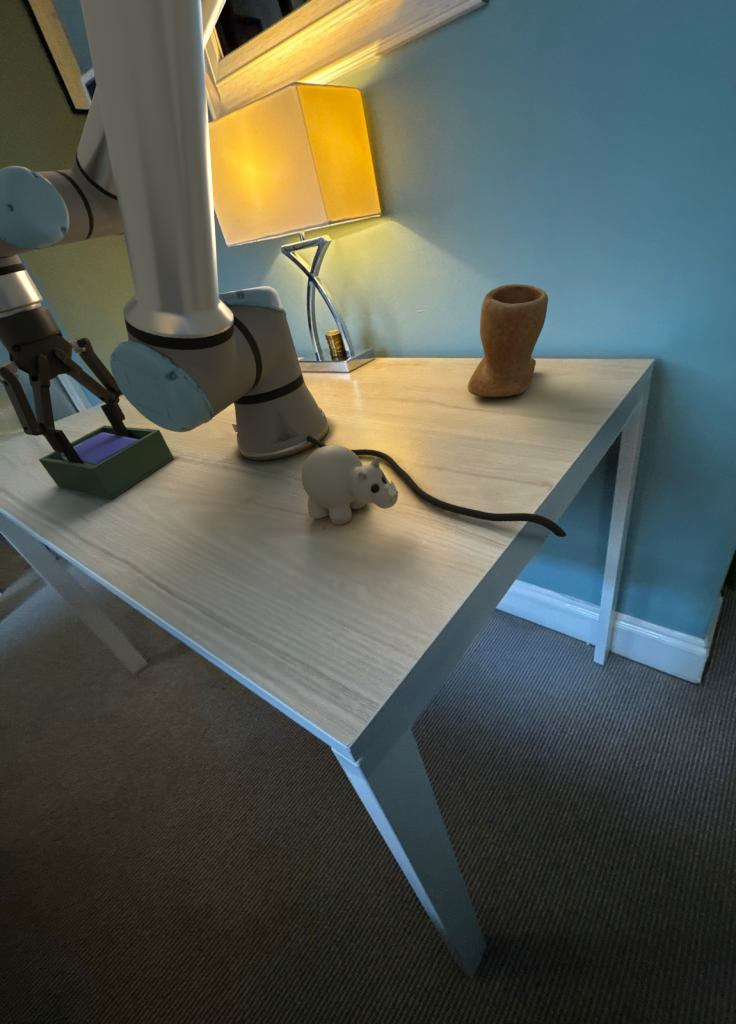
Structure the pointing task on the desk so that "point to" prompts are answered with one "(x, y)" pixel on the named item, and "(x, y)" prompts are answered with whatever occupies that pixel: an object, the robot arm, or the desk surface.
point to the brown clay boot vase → (508, 339)
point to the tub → (111, 464)
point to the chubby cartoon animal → (343, 484)
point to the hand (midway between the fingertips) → (103, 452)
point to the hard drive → (101, 447)
